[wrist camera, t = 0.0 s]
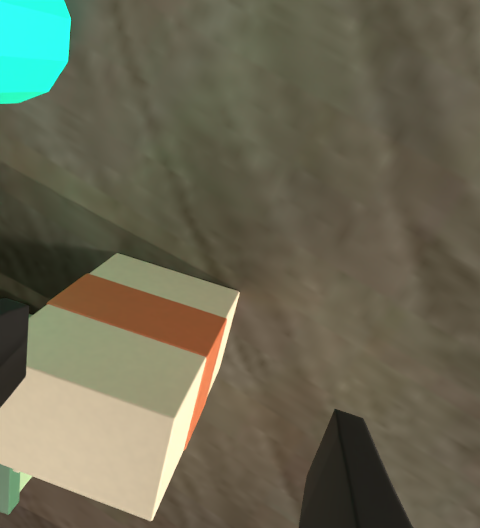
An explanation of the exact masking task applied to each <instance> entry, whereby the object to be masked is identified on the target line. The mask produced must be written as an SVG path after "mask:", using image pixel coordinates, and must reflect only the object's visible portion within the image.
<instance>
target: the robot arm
mask: <svg viewBox="0 0 480 528" xmlns="http://www.w3.org/2000/svg"><path fill="white" fill-rule="evenodd" d="M28 322H29V306H28V305H25V304H22V303H19V302H16V301H14V300H11V299H8V298H2V299H0V408H1V406H2V405H3V404H4V403H5V402H6V400H7V399H8V398H9V397H10V396H11V394H12V393H13V392H14V391H15V389H16V388H17V387H18V386H19V384H20V383H21V382H22V381H23V379H24V378H25V377H26V364H27V343H28ZM299 528H413V527H412V525H411V523H410V521H409V519H408V517H407V514H406V512H405V510H404V508H403V506H402V504H401V502H400V500H399V498H398V496H397V494H396V492H395V490H394V487H393V485H392V483H391V481H390V479H389V477H388V474H387V472H386V470H385V467H384V465H383V463H382V461H381V458H380V456H379V454H378V451H377V449H376V447H375V444H374V442H373V439H372V437H371V435H370V432H369V430H368V428H367V425H366V423H365V421H364V419H363V418H360V417H357V416H355V415H352V414H349V413H346V412H343V411H340V410H337V409H335V410H334V412H333V415H332V417H331V420H330V422H329V424H328V427H327V429H326V431H325V434H324V436H323V439H322V441H321V443H320V446H319V448H318V451H317V453H316V455H315V458H314V460H313V463H312V465H311V467H310V470H309V472H308V475H307V478H306V484H305V490H304V496H303V502H302V509H301V516H300V522H299Z"/></svg>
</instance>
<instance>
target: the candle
mask: <svg viewBox="0 0 480 528" xmlns="http://www.w3.org/2000/svg"><path fill="white" fill-rule="evenodd" d="M70 25H71V18H70V15H69V12H68V9H67V7H66V4H65V1H64V0H0V104H7V103H20V102H23V101H25V100H28V99H31V98H33V97H36V96H39V95H41V94H44V93H47V92H49V91H50V89H51V87H52V86H53V84H54V83H55V81H56V80H57V78H58V77H59V75H60V73H61V72H62V70H63V69H64V67H65V66H66V64H67V63H68V55H69V40H70Z"/></svg>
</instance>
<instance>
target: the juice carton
mask: <svg viewBox="0 0 480 528" xmlns="http://www.w3.org/2000/svg"><path fill="white" fill-rule="evenodd" d="M239 294H240V292H239V291H236V290H233V289H230V288H226V287H223V286H220V285H217V284H214V283H211V282H207V281H204V280H201V279H198V278H195V277H192V276H189V275H185V274H182V273H179V272H176V271H173V270H170V269H166V268H163V267H160V266H157V265H154V264H151V263H147V262H144V261H141V260H138V259H135V258H132V257H129V256H125V255H122V254H119V253H116V254H115V255H114V256H112V257H111V258H109V259H108V260H107V261H105V262H104V263H103V264H101V265H100V266H99V267H97V268H96V269H95V270H93V271H92V272H91V273H89V274H88V273H86V274H85V275H84V276H82V277H81V278H79V279H78V280H77V281H75V282H74V283H73V284H71V285H70V286H69V287H67V288H66V289H64V290H63V291H62V292H60V293H59V294H58V295H56V296H55V297H53V298H52V299H51V300H49V301H48V302H47V303H46V306H44V307H43V308H42V309H40V310H39V311H38V312H36V313H35V314H34V315H32V316H31V317H30V318H29V322H28V343H27V364H26V377H25V378H24V379H23V381H22V382H21V383H20V384H19V386H18V387H17V388H16V389H15V391H14V392H13V393H12V394H11V396H10V397H9V398H8V399H7V400H6V402H5V403H4V404H3V405H2V406H1V408H0V464H2V465H4V466H7V467H10V468H12V469H15V470H18V471H20V472H23V473H25V474H28V475H31V476H33V477H36V478H39V479H41V480H44V481H46V482H49V483H52V484H54V485H57V486H60V487H62V488H65V489H67V490H70V491H73V492H75V493H78V494H81V495H83V496H86V497H88V498H91V499H94V500H96V501H99V502H102V503H104V504H107V505H110V506H112V507H115V508H117V509H120V510H123V511H125V512H128V513H131V514H133V515H136V516H138V517H141V518H144V519H146V520H149V521H152V520H153V518H154V516H155V513H156V511H157V509H158V507H159V504H160V502H161V500H162V498H163V495H164V493H165V491H166V489H167V486H168V484H169V482H170V479H171V477H172V475H173V473H174V470H175V468H176V466H177V464H178V461H179V459H180V457H181V455H182V452H183V450H185V449H186V447H187V444H188V442H189V440H190V438H191V435H192V433H193V431H194V428H195V426H196V424H197V422H198V419H199V417H200V415H201V412H202V410H203V408H204V406H205V403H206V399H207V396H208V393H209V391H210V389H211V387H212V384H213V382H214V380H215V377H216V375H217V373H218V371H219V368H220V365H221V361H222V357H223V353H224V350H225V346H226V342H227V338H228V335H229V331H230V327H231V323H232V320H233V316H234V312H235V309H236V305H237V301H238V297H239Z"/></svg>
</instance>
